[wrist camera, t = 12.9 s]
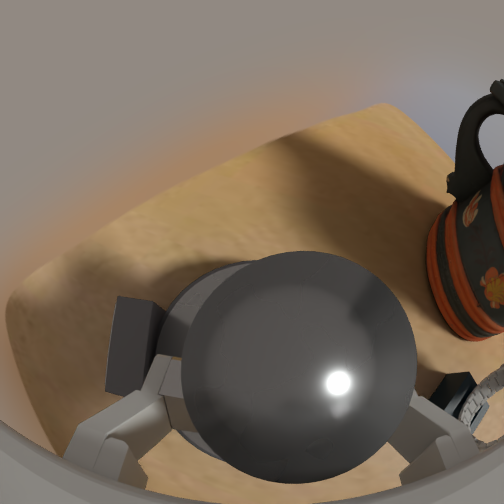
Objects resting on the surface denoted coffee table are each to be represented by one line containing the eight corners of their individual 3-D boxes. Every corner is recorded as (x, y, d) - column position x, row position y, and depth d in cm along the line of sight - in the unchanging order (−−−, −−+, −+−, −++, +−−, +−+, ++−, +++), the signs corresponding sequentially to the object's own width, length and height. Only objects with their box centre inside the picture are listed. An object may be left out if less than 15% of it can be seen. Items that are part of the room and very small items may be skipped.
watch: (477, 390, 17) (559, 380, 7) (433, 454, 15) (518, 473, 5) (456, 357, 19) (545, 335, 9) (407, 424, 17) (503, 439, 6)
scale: (342, 449, 16) (368, 468, 11) (128, 432, 16) (99, 447, 11) (349, 280, 21) (375, 257, 17) (148, 263, 21) (127, 236, 17)
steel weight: (312, 414, 12) (408, 466, 4) (212, 409, 12) (171, 476, 4) (317, 321, 14) (411, 258, 6) (221, 315, 14) (195, 238, 6)
